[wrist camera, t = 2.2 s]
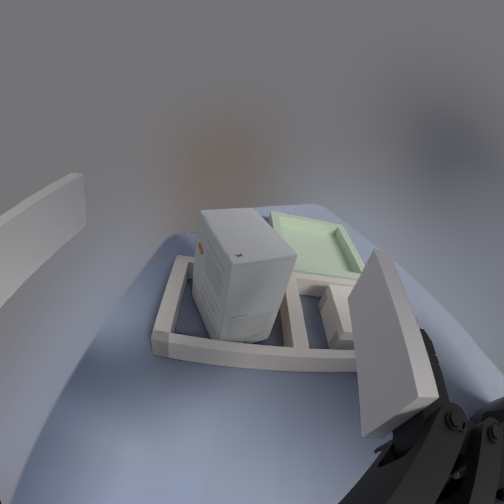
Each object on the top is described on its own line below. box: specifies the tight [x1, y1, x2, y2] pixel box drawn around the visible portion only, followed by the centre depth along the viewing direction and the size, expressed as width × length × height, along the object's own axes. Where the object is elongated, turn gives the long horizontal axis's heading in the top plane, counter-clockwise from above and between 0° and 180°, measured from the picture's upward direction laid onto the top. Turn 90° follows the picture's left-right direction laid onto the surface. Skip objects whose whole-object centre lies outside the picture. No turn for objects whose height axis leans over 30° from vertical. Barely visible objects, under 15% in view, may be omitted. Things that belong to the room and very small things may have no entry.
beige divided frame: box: [151, 255, 357, 372], centre depth 28 cm, size 26×12×3 cm, turn 90°
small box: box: [192, 208, 297, 344], centre depth 25 cm, size 8×6×10 cm
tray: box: [268, 211, 365, 281], centre depth 40 cm, size 13×15×2 cm
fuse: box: [318, 284, 355, 350], centre depth 29 cm, size 5×7×4 cm, turn 0°
